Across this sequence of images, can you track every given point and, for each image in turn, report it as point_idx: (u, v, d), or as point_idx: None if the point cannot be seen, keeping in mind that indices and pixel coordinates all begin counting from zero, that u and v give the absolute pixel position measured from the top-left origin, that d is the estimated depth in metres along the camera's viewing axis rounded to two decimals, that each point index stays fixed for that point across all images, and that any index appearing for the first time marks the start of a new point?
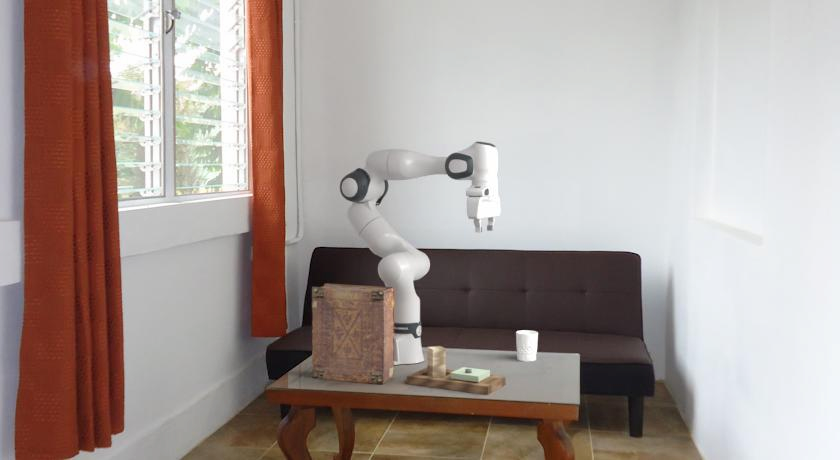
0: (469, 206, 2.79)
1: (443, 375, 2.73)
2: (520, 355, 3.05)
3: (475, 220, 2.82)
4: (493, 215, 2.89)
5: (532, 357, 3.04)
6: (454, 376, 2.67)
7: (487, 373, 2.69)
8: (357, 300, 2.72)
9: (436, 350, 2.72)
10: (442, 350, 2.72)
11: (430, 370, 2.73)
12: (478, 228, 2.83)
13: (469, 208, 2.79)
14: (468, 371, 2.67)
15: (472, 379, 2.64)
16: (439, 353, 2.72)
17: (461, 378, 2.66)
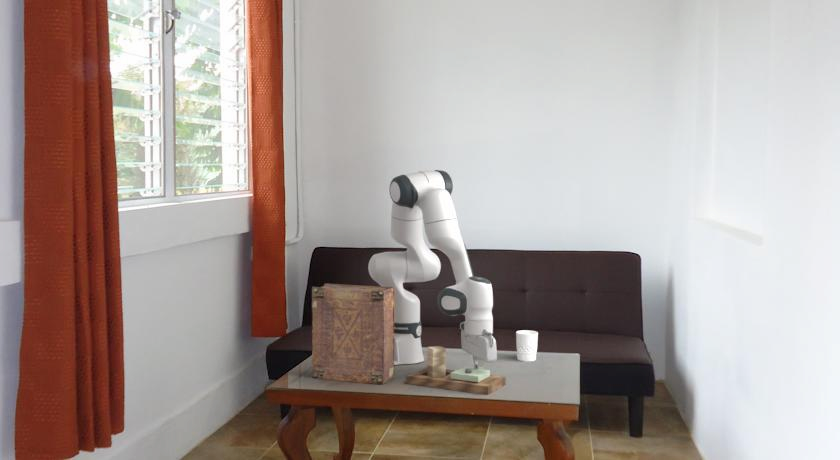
0: None
1: (443, 375, 2.73)
2: (520, 355, 3.05)
3: None
4: (478, 356, 2.70)
5: (532, 357, 3.04)
6: (454, 376, 2.67)
7: (487, 373, 2.69)
8: (357, 300, 2.72)
9: (436, 350, 2.72)
10: (442, 350, 2.72)
11: (430, 370, 2.73)
12: None
13: None
14: (468, 371, 2.67)
15: (472, 379, 2.64)
16: (439, 353, 2.72)
17: (461, 378, 2.65)
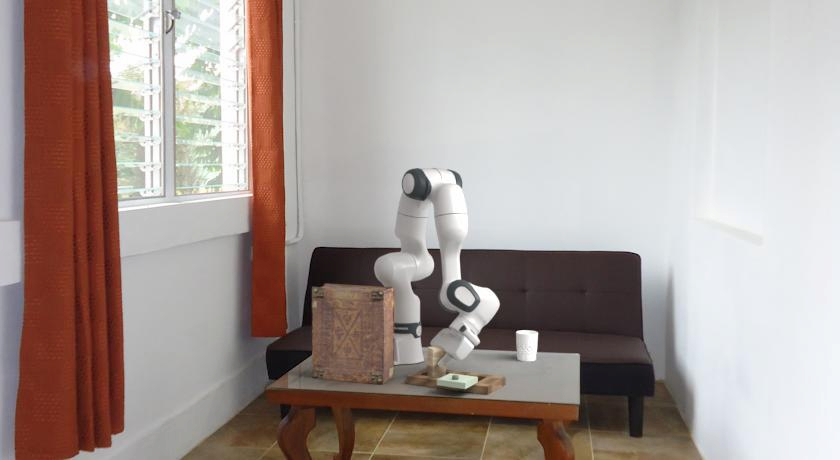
0: (463, 346, 2.67)
1: (443, 375, 2.73)
2: (520, 355, 3.05)
3: (448, 356, 2.71)
4: None
5: (532, 357, 3.04)
6: (440, 382, 2.58)
7: (475, 379, 2.61)
8: (357, 300, 2.72)
9: (436, 350, 2.72)
10: (442, 350, 2.72)
11: (430, 370, 2.73)
12: (442, 363, 2.71)
13: (461, 348, 2.67)
14: (455, 377, 2.58)
15: (459, 386, 2.55)
16: (439, 353, 2.72)
17: (448, 385, 2.57)
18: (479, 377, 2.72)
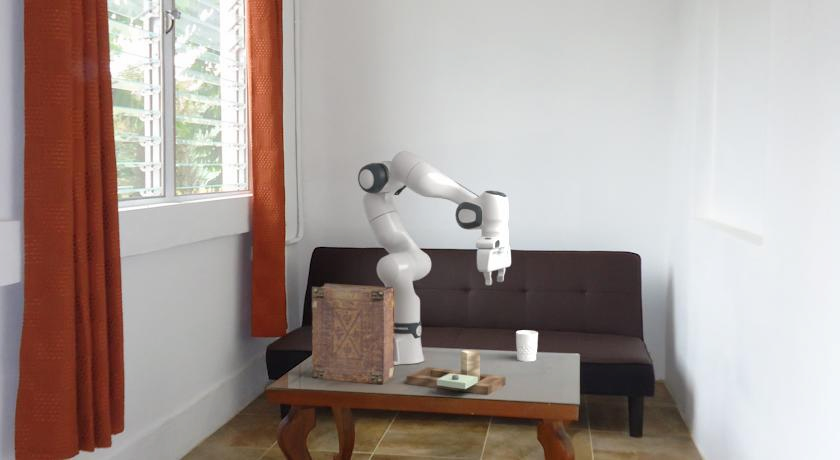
0: (479, 259, 2.70)
1: None
2: (520, 355, 3.05)
3: (485, 272, 2.73)
4: (503, 266, 2.80)
5: (532, 357, 3.04)
6: (440, 382, 2.58)
7: (475, 379, 2.61)
8: (357, 300, 2.72)
9: (470, 354, 2.66)
10: (476, 354, 2.67)
11: (464, 374, 2.68)
12: (488, 281, 2.73)
13: (479, 260, 2.70)
14: (455, 377, 2.58)
15: (459, 386, 2.55)
16: (473, 357, 2.67)
17: (448, 385, 2.57)
18: None
